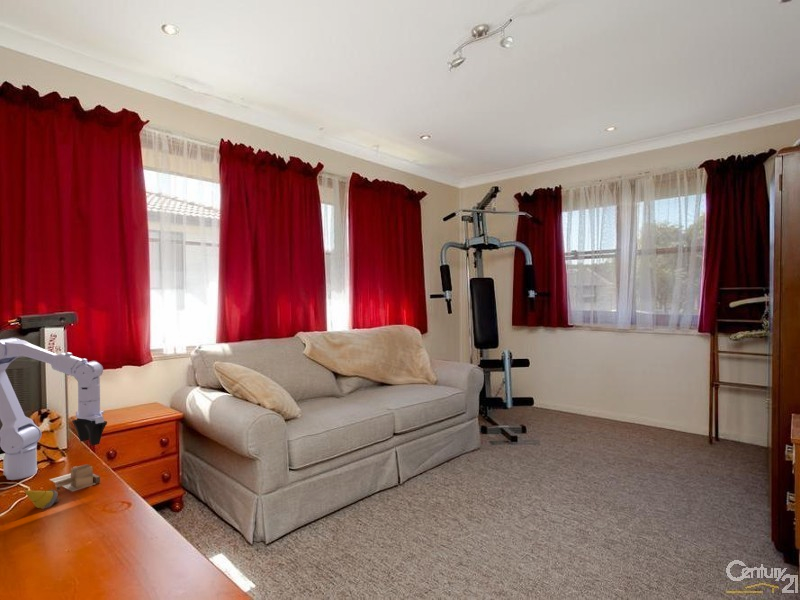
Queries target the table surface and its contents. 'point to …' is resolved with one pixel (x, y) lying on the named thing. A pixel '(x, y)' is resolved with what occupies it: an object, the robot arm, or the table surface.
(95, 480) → the board
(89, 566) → the table surface
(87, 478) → the block
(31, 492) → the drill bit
